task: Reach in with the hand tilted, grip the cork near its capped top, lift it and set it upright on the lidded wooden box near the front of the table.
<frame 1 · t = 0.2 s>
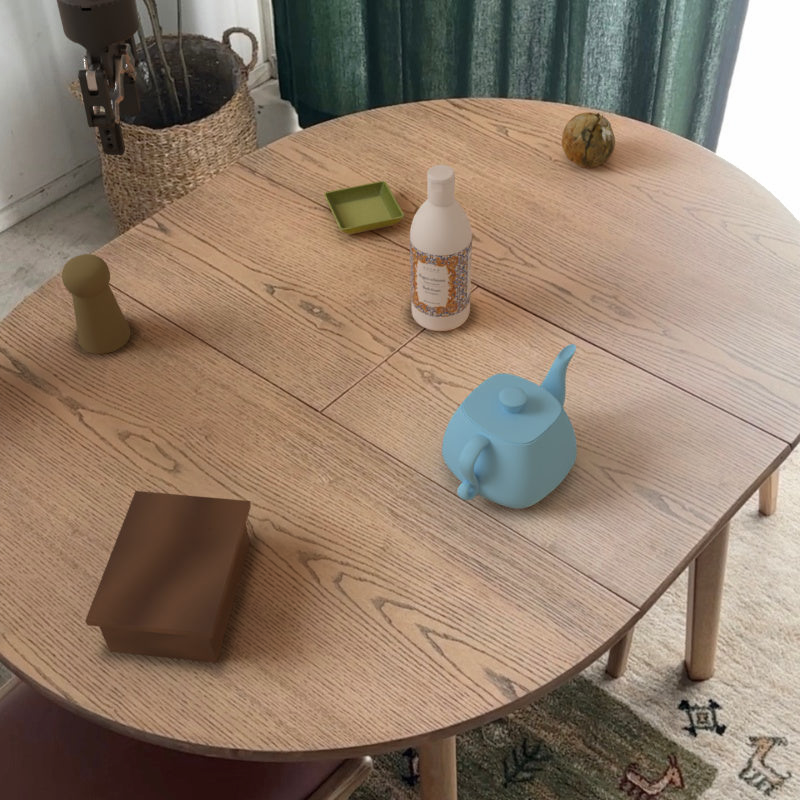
hand: (123, 132, 116), 21 cm above the table, tool pointing down, fingers open, 8 cm apart
teapot: (514, 461, 110), on the table
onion: (587, 161, 148), on the table
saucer: (364, 218, 140), on the table
cork: (105, 337, 125), on the table
bath foam: (440, 314, 126), on the table
lidded wooden box: (182, 595, 100), on the table
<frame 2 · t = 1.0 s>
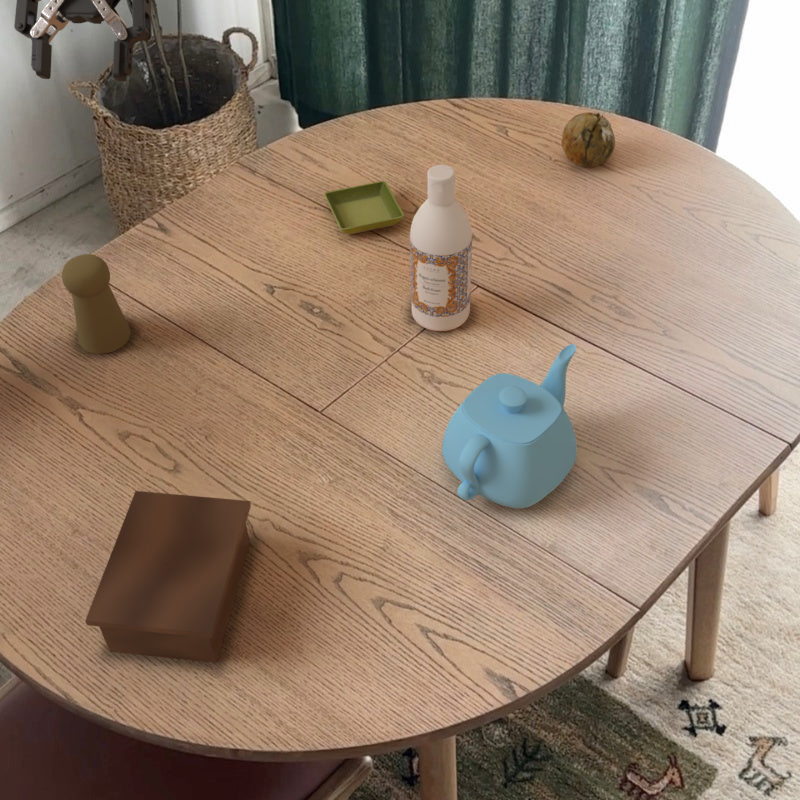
hand: (81, 78, 113), 27 cm above the table, tool tilted 45°, fingers open, 8 cm apart
nothing on the table moved.
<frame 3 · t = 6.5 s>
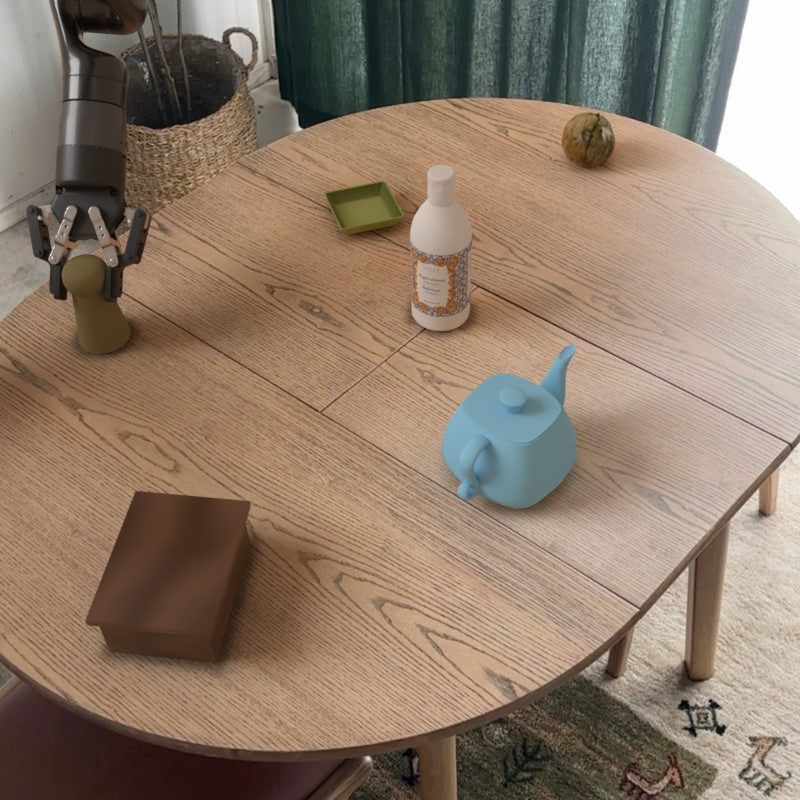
hand: (85, 300, 119), 7 cm above the table, tool tilted 45°, fingers closed on cork, 5 cm apart
cork: (105, 337, 125), on the table, touching gripper
everything else where it was.
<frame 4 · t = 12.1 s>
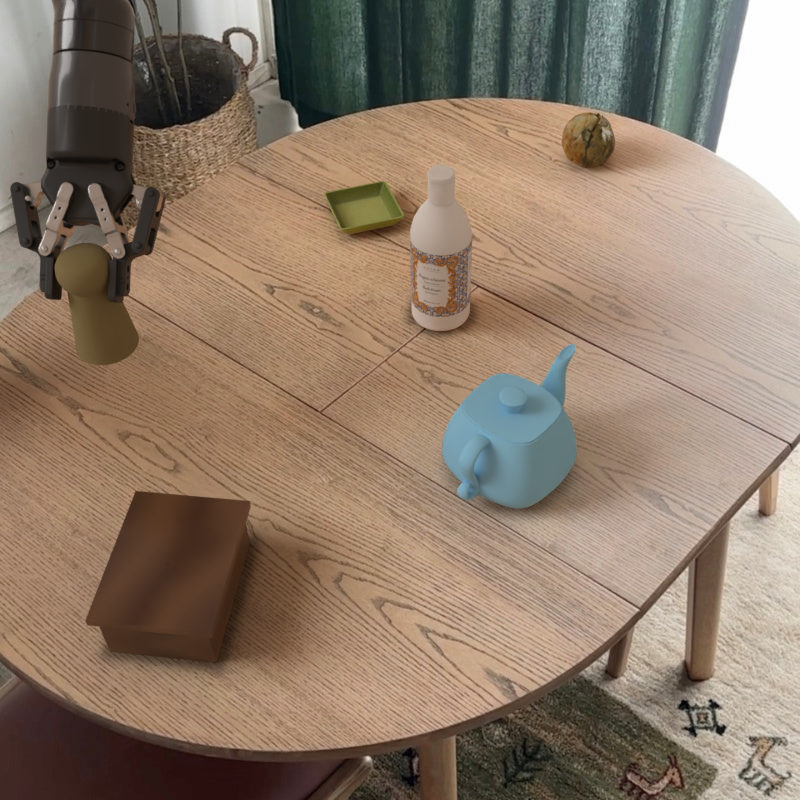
hand: (84, 299, 96), 22 cm above the table, tool tilted 45°, fingers closed on cork, 5 cm apart
cork: (108, 344, 103), point 15 cm above the table, touching gripper
everything else where it was.
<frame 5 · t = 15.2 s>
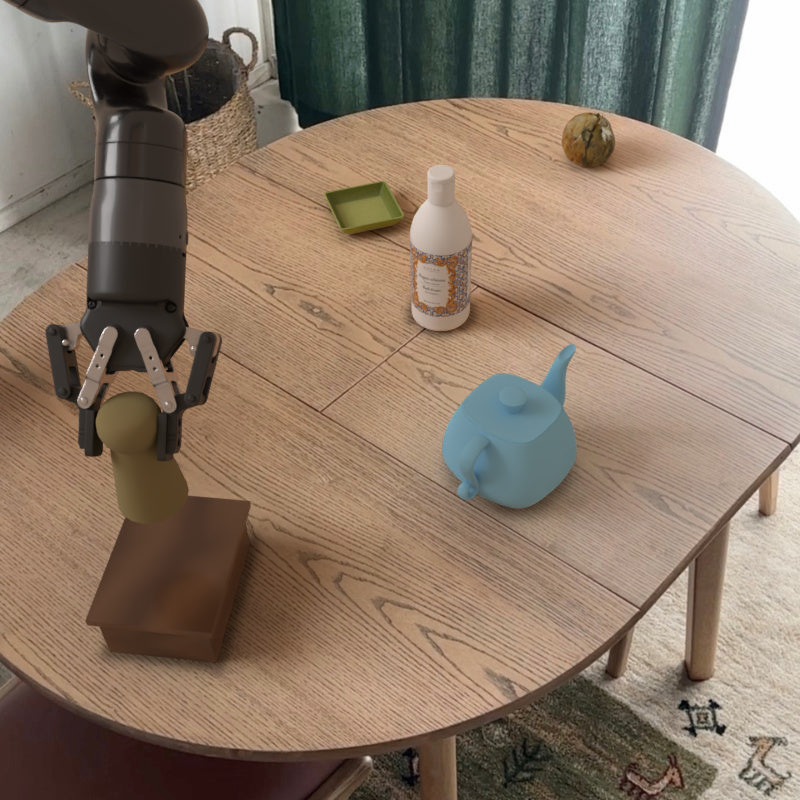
hand: (129, 457, 84), 21 cm above the table, tool tilted 45°, fingers closed on cork, 5 cm apart
cork: (153, 496, 91), point 14 cm above the table, touching gripper
everything else where it was.
when the fingers open (13 cm above the table, at t = 17.8 s): cork stays where it is, resting on lidded wooden box.
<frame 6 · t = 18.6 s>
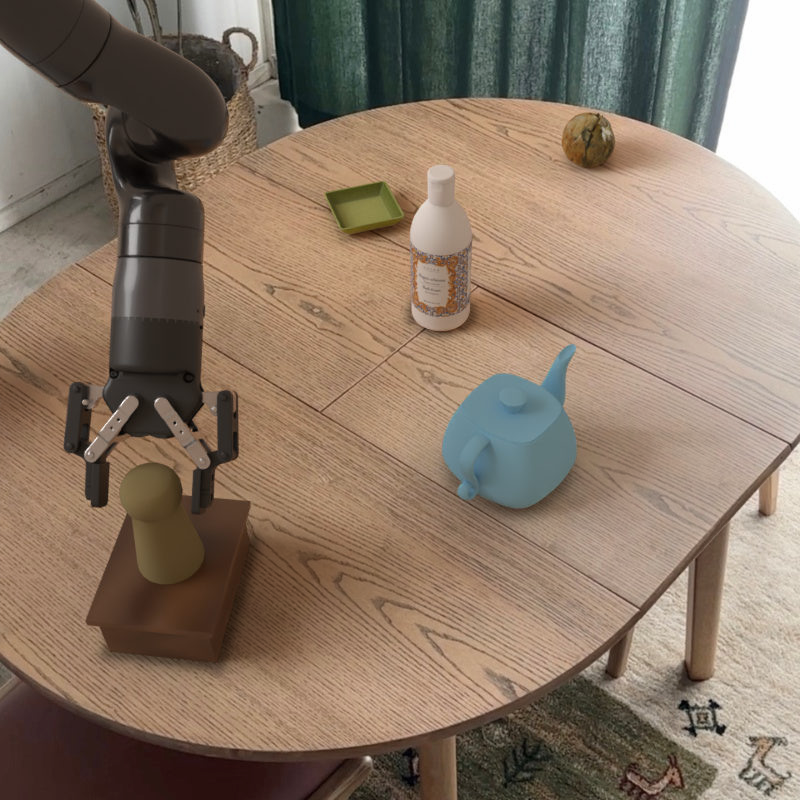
hand: (149, 510, 89), 14 cm above the table, tool tilted 45°, fingers open, 8 cm apart
cork: (171, 557, 96), point 6 cm above the table, touching lidded wooden box
everything else where it was.
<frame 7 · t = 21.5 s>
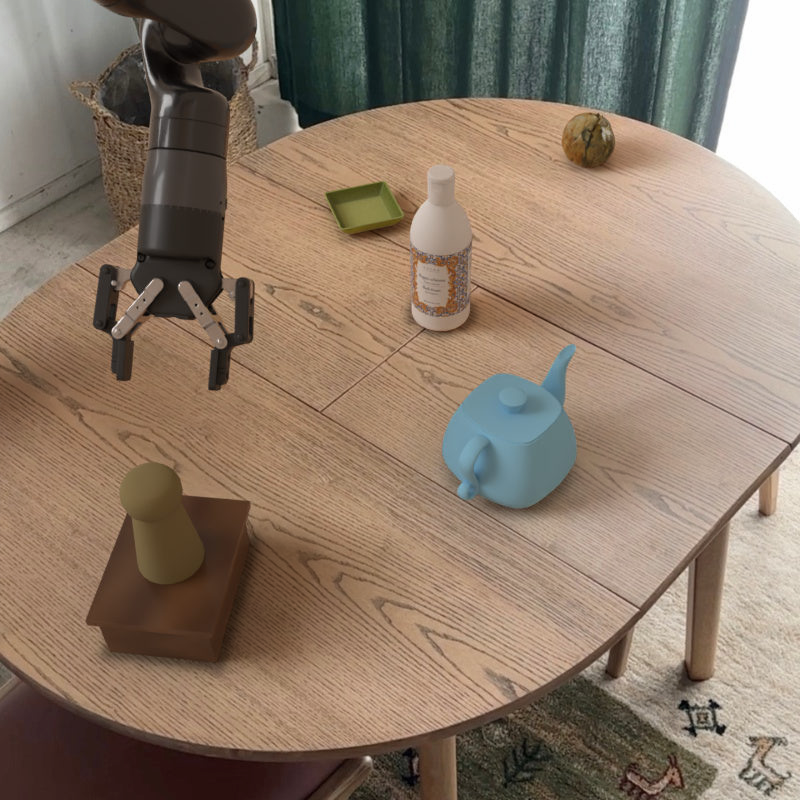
hand: (169, 385, 97), 16 cm above the table, tool tilted 45°, fingers open, 8 cm apart
nothing on the table moved.
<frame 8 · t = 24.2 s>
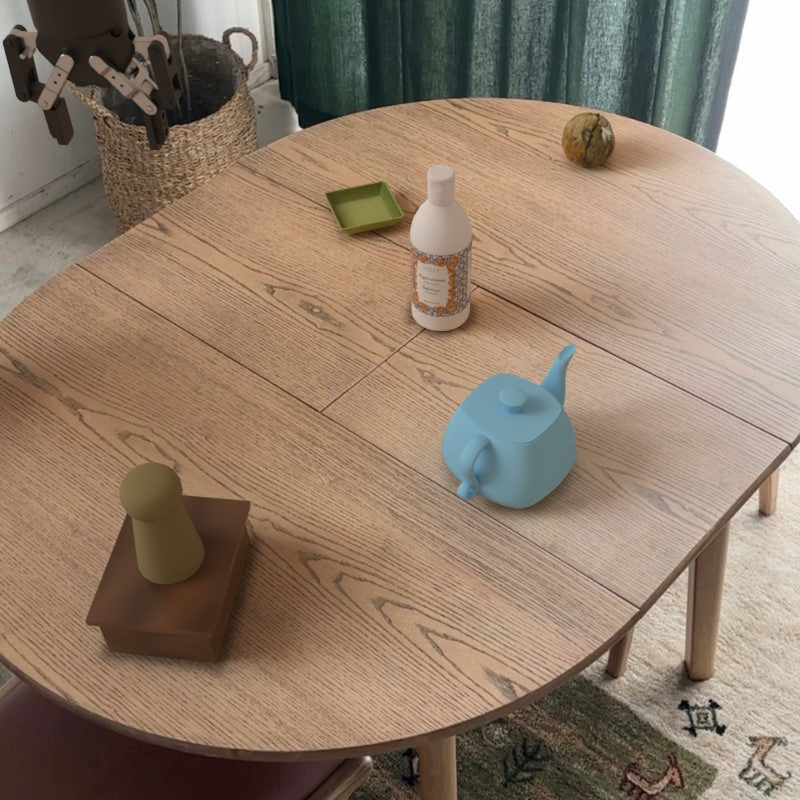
hand: (112, 143, 95), 32 cm above the table, tool pointing down, fingers open, 8 cm apart
nothing on the table moved.
at the end: cork inside the target area on the lidded wooden box (0.2 cm from its centre), point 5.8 cm above the lidded wooden box's base; cork tilted 0°; the gripper is holding nothing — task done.
